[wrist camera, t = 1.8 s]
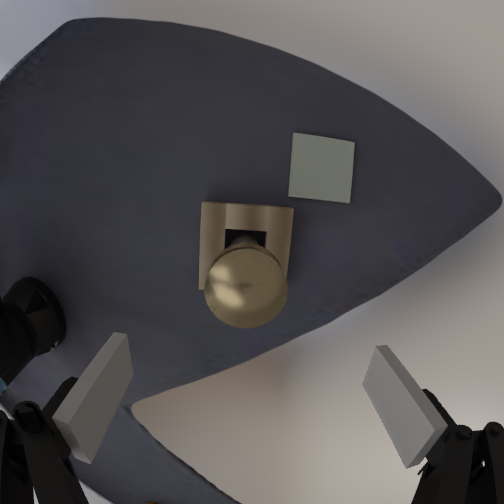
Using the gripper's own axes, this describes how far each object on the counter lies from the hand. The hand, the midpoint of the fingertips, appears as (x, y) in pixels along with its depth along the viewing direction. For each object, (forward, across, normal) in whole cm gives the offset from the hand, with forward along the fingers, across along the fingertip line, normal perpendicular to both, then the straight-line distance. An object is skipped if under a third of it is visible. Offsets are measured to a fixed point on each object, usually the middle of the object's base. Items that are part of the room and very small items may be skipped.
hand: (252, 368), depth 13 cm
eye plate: (+27, 0, 0) cm, 27 cm away
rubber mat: (+27, -10, -12) cm, 31 cm away
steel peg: (+27, 0, 0) cm, 27 cm away
